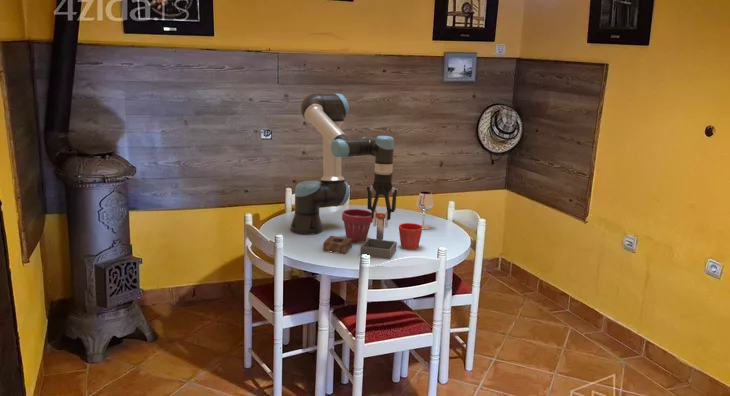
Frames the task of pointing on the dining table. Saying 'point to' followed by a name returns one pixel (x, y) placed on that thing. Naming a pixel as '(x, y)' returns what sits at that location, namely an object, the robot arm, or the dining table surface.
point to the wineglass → (425, 204)
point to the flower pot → (410, 235)
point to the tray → (378, 248)
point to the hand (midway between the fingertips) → (380, 226)
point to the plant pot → (357, 224)
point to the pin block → (337, 244)
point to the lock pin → (380, 225)
